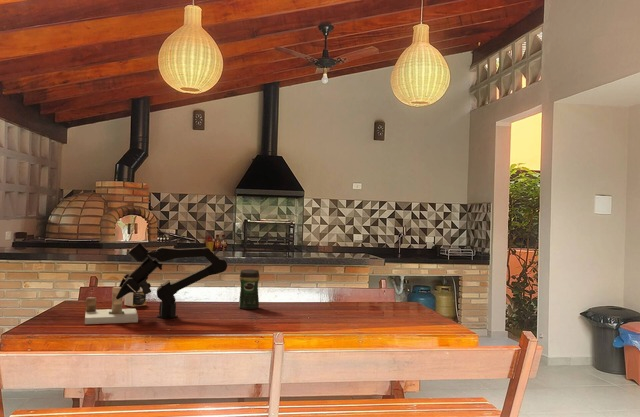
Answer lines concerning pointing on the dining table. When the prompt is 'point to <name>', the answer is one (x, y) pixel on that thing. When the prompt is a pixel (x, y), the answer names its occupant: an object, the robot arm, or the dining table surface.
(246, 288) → the coffee jar
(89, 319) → the hole board
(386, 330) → the dining table surface
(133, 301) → the medicine bottle
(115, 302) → the tall beech peg
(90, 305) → the short walnut peg
